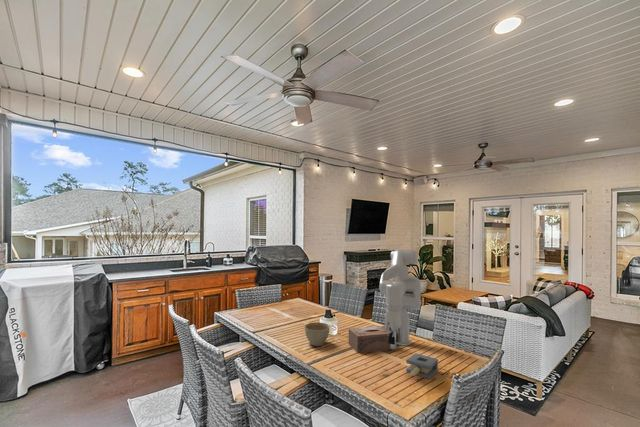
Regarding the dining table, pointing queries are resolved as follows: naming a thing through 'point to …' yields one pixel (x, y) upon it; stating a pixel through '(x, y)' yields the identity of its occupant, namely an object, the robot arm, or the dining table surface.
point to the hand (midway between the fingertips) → (393, 342)
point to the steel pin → (395, 341)
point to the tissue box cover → (369, 339)
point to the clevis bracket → (422, 365)
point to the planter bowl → (317, 333)
